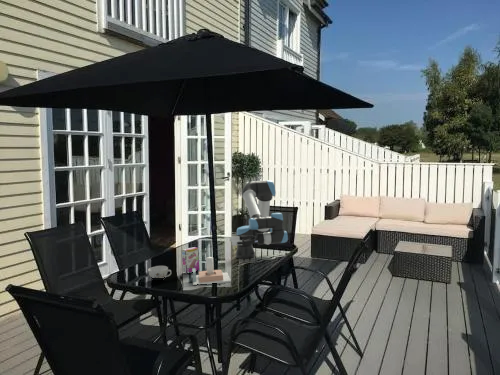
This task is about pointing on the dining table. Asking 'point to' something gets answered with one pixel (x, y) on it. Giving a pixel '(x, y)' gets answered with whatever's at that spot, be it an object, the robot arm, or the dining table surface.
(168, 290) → the dining table surface
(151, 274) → the teacup
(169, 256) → the dining table surface
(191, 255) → the candy bar box
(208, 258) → the peg
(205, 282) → the charging dock
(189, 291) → the dining table surface
